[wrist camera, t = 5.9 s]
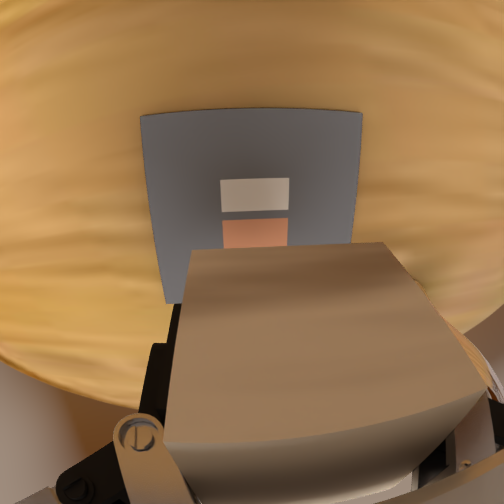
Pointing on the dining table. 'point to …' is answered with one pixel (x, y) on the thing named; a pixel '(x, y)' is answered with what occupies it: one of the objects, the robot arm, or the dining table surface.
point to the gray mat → (248, 181)
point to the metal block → (309, 375)
